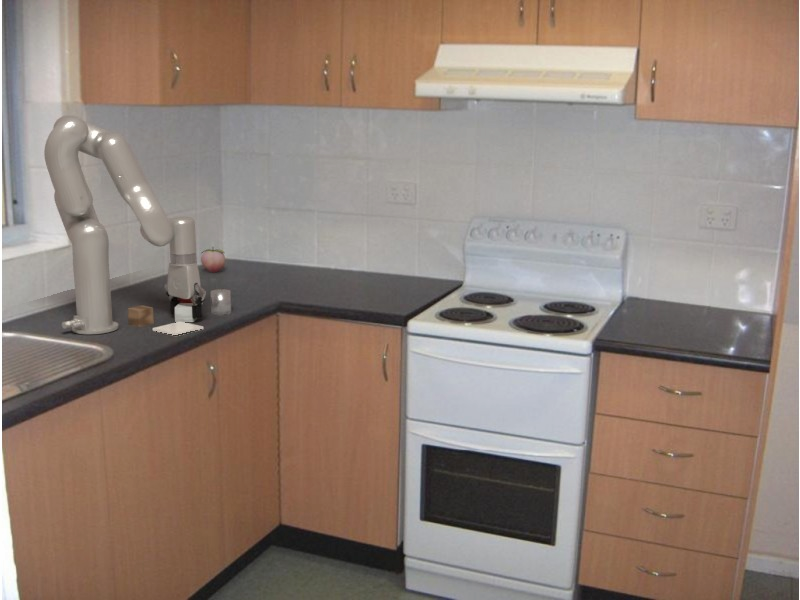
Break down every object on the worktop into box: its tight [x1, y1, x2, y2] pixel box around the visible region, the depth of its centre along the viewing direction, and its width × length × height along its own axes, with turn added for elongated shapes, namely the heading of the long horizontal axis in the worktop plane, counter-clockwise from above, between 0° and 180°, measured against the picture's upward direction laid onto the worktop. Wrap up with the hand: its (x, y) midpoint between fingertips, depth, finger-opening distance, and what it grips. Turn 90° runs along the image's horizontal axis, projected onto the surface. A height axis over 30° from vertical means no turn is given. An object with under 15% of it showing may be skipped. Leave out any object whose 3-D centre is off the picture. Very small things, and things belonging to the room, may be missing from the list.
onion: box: [177, 298, 192, 303], centre depth 276 cm, size 6×6×8 cm
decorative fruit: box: [200, 246, 226, 273], centre depth 337 cm, size 9×8×10 cm
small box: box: [174, 303, 198, 323], centre depth 262 cm, size 6×6×5 cm
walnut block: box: [127, 305, 155, 328], centre depth 257 cm, size 5×5×5 cm
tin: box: [210, 288, 232, 316], centre depth 271 cm, size 6×6×7 cm
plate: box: [152, 321, 204, 336], centre depth 251 cm, size 10×10×1 cm
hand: (186, 315), depth 262 cm, fingers open, 9 cm apart
